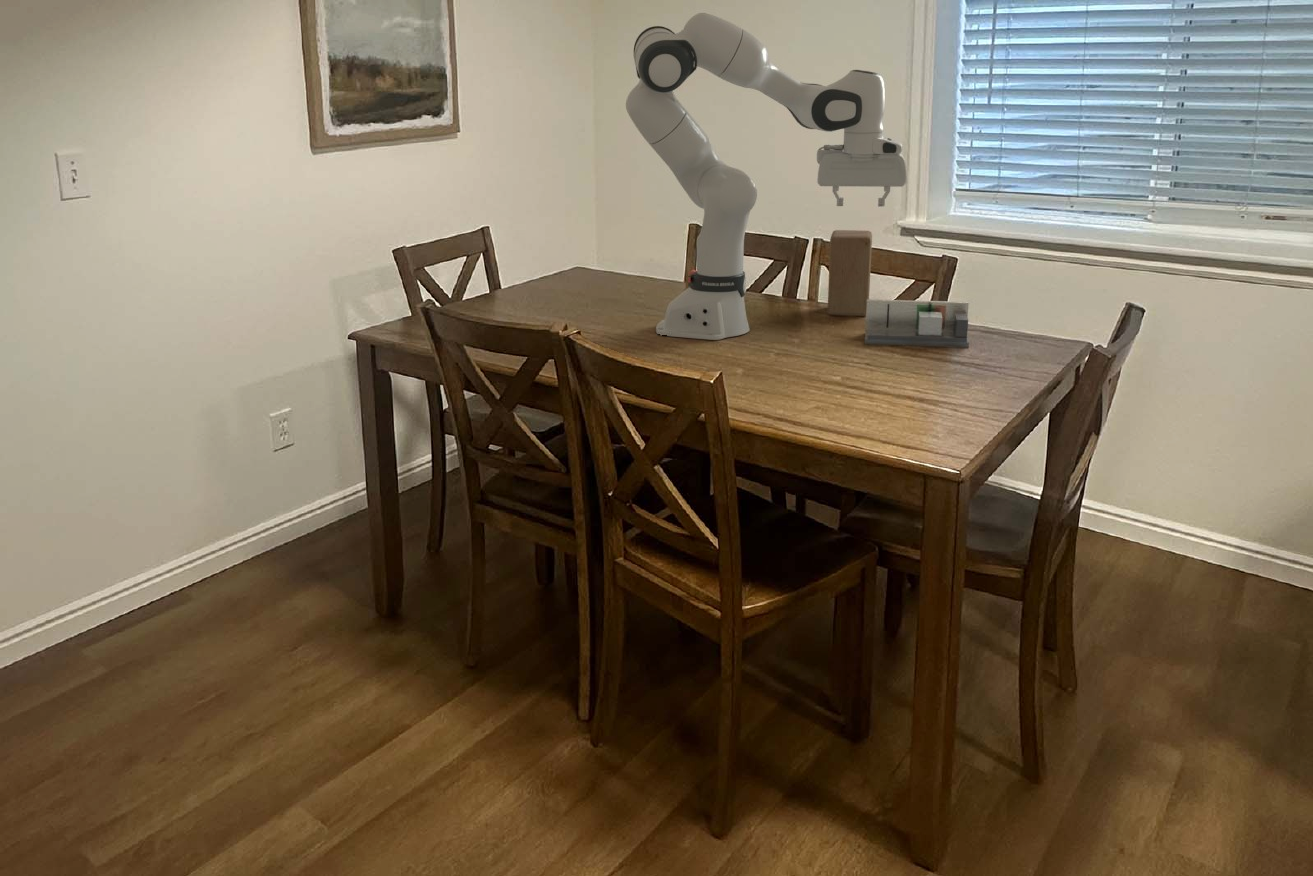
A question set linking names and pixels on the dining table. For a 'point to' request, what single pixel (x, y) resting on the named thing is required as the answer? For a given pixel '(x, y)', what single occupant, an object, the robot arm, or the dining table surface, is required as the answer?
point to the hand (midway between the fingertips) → (860, 205)
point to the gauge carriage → (930, 323)
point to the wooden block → (849, 272)
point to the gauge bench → (915, 323)
